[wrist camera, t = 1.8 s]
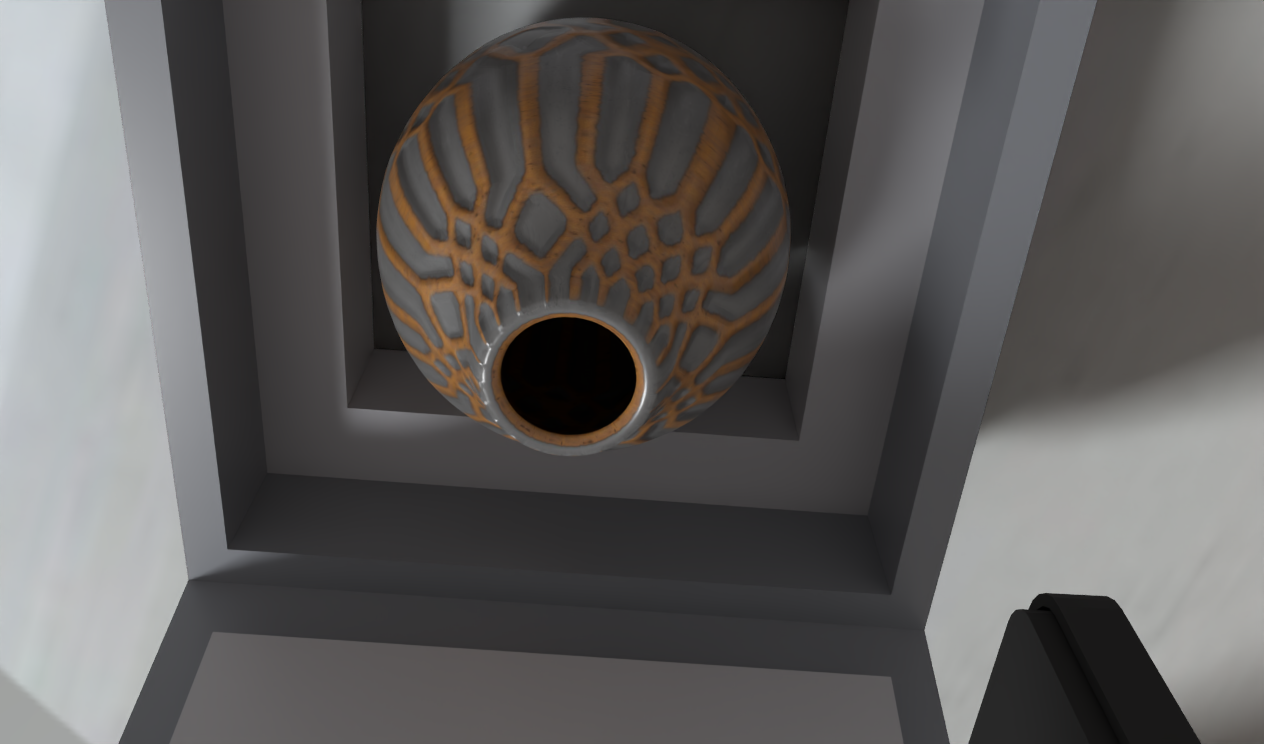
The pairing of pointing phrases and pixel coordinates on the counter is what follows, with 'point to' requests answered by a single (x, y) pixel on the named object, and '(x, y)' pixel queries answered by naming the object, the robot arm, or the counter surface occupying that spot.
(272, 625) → the case lid
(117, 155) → the counter surface
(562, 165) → the vase
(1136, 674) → the robot arm
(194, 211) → the equipment case
